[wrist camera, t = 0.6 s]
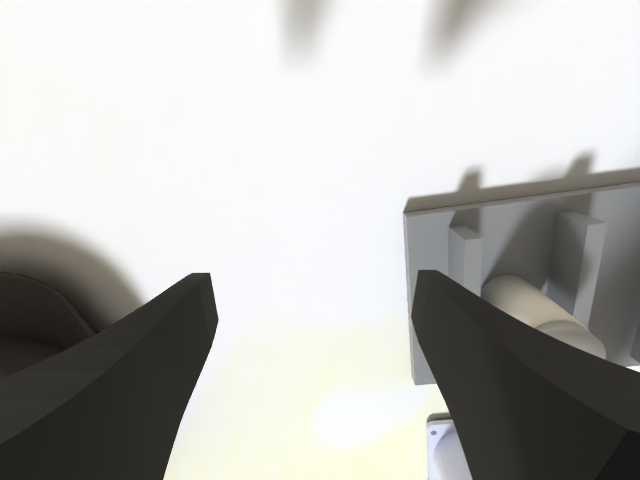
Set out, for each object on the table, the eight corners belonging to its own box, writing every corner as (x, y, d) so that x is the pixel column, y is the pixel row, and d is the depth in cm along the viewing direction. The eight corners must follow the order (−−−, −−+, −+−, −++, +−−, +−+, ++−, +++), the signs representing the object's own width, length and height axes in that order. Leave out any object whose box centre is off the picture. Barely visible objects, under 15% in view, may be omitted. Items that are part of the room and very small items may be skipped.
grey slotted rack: (758, 344, 23) (866, 399, 19) (411, 375, 25) (430, 432, 21) (839, 155, 18) (1013, 165, 14) (403, 212, 20) (425, 238, 16)
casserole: (-117, 269, 23) (-345, 344, 15) (117, 247, 22) (0, 315, 14) (28, 485, 32) (-71, 604, 24) (202, 478, 31) (158, 599, 23)
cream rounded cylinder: (531, 321, 22) (600, 389, 16) (473, 327, 22) (522, 395, 17) (536, 271, 21) (614, 326, 15) (475, 278, 21) (529, 335, 15)
